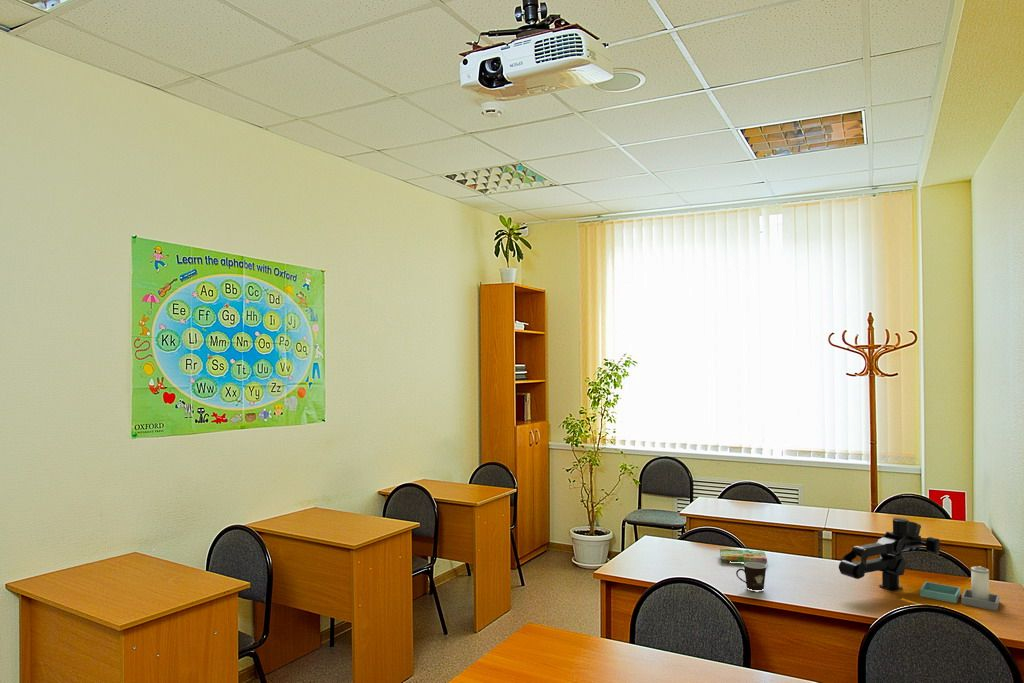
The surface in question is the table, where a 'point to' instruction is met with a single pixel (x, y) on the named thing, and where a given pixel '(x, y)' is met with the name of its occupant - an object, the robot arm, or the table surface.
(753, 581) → the coffee mug
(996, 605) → the bin
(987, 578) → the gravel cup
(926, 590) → the bin
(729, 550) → the puzzle game
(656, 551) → the table surface
